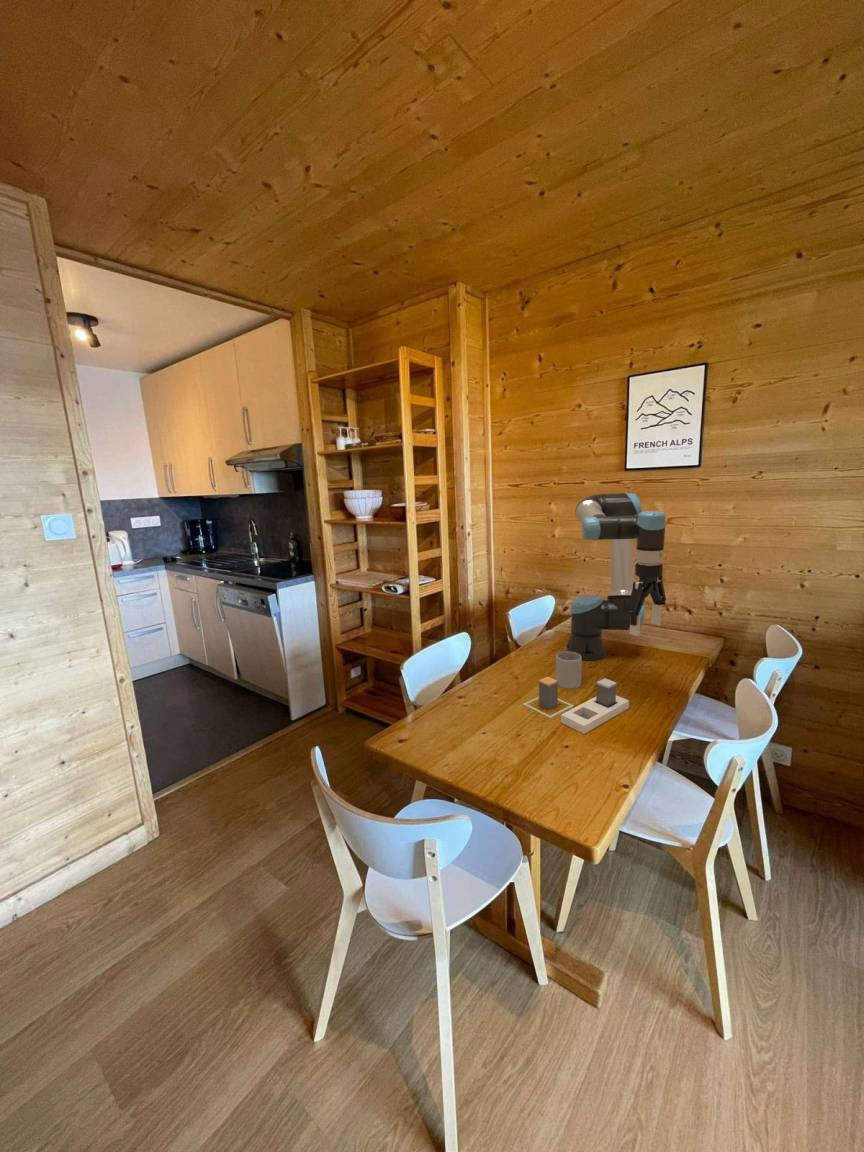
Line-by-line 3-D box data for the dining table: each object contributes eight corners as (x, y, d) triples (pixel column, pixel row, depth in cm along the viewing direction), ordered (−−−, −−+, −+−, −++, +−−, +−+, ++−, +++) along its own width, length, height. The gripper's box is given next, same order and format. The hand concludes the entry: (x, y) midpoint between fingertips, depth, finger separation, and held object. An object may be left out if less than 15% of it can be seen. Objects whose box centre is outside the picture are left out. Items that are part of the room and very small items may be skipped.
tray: (523, 707, 146) (523, 703, 146) (546, 696, 152) (546, 693, 152) (550, 721, 137) (550, 717, 137) (573, 709, 143) (573, 705, 143)
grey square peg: (595, 709, 141) (596, 682, 139) (603, 704, 143) (604, 678, 141) (607, 714, 138) (608, 686, 136) (615, 709, 140) (616, 682, 138)
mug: (572, 693, 153) (573, 663, 151) (550, 685, 159) (550, 656, 157) (591, 681, 161) (591, 652, 159) (569, 674, 167) (569, 646, 165)
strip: (560, 725, 135) (561, 714, 134) (605, 701, 147) (605, 691, 146) (583, 737, 128) (584, 726, 128) (628, 710, 141) (629, 700, 140)
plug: (539, 706, 145) (539, 680, 143) (547, 702, 147) (547, 676, 145) (548, 711, 142) (549, 684, 140) (557, 707, 144) (557, 680, 142)
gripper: (640, 571, 129) (636, 643, 133) (680, 558, 144) (675, 622, 148) (615, 568, 134) (612, 636, 139) (656, 555, 149) (652, 617, 154)
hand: (645, 629), depth 144 cm, fingers open, 13 cm apart
